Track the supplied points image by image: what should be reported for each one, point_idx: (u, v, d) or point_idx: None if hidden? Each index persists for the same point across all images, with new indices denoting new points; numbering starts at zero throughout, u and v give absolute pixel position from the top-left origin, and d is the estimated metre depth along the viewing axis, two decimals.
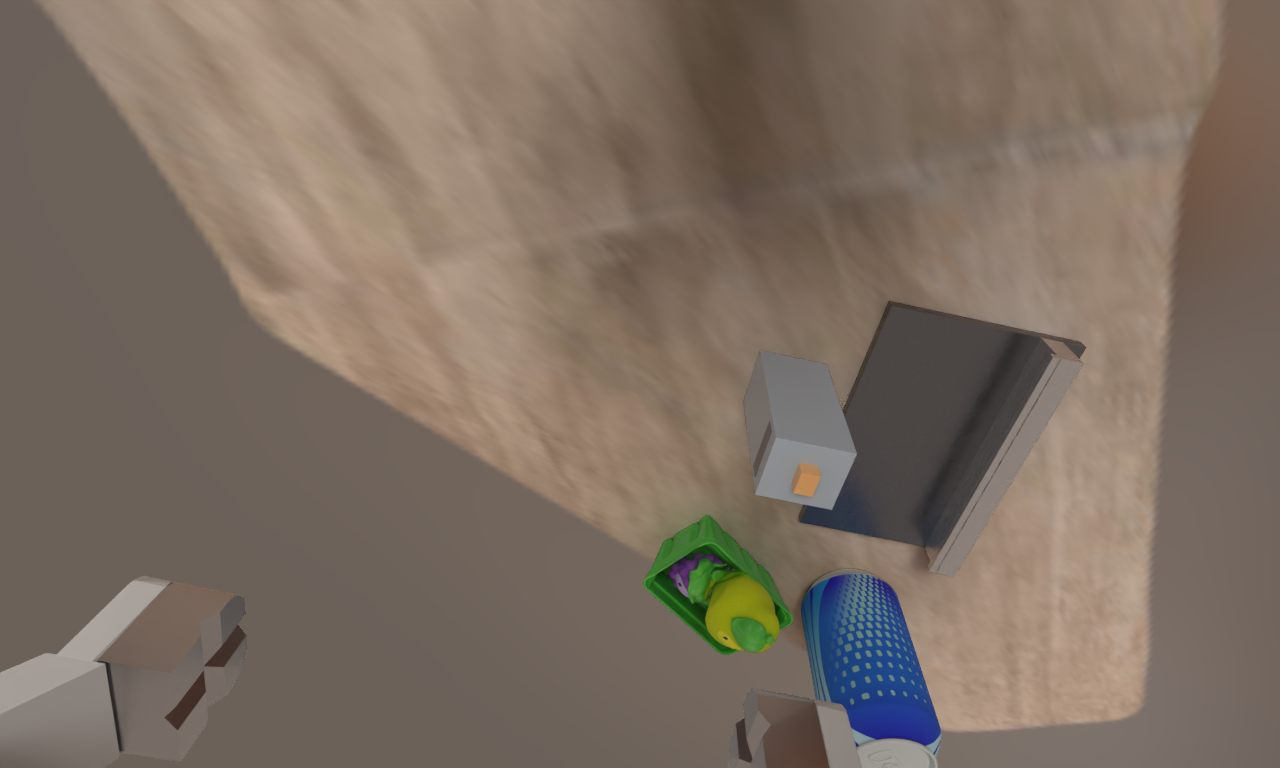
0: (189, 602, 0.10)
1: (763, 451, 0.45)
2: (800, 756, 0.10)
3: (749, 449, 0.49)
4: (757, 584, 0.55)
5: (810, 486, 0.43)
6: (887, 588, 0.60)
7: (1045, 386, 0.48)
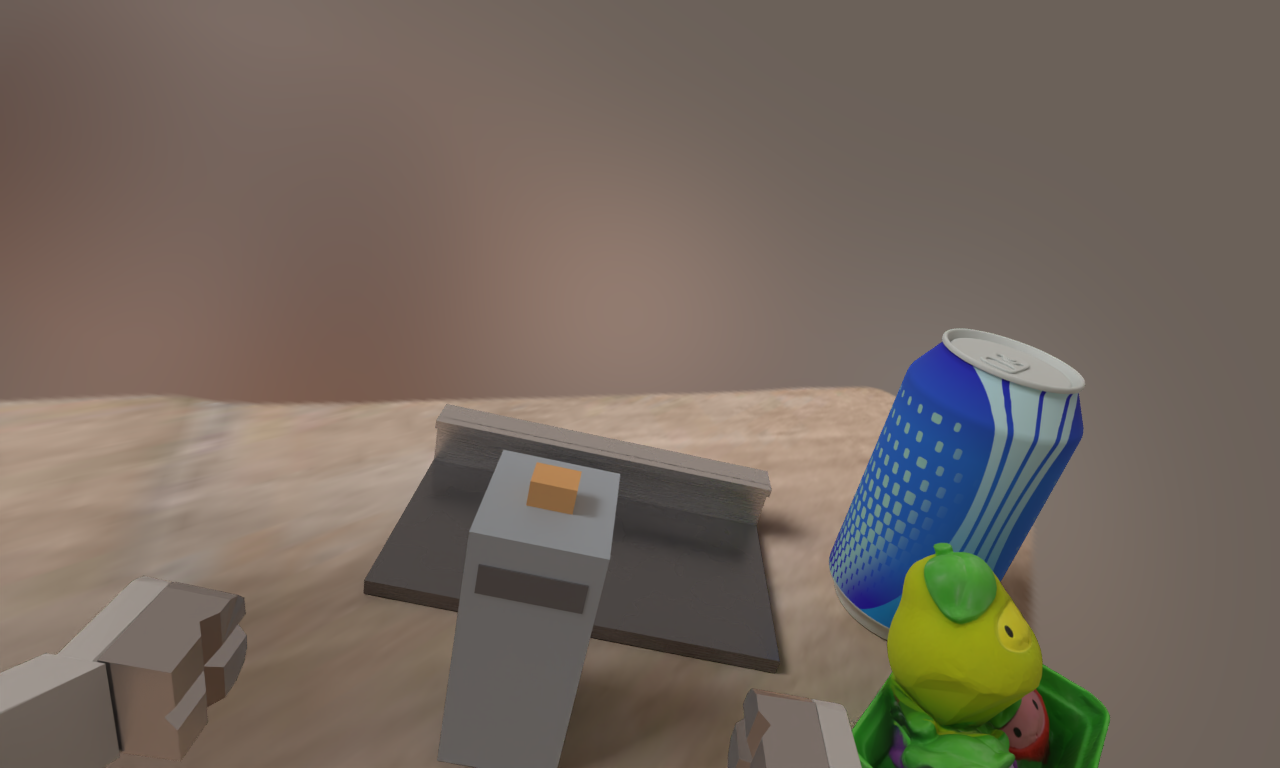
0: (189, 602, 0.10)
1: (528, 579, 0.23)
2: (800, 756, 0.10)
3: (581, 665, 0.25)
4: (887, 641, 0.29)
5: (559, 472, 0.24)
6: (835, 542, 0.42)
7: (475, 424, 0.42)
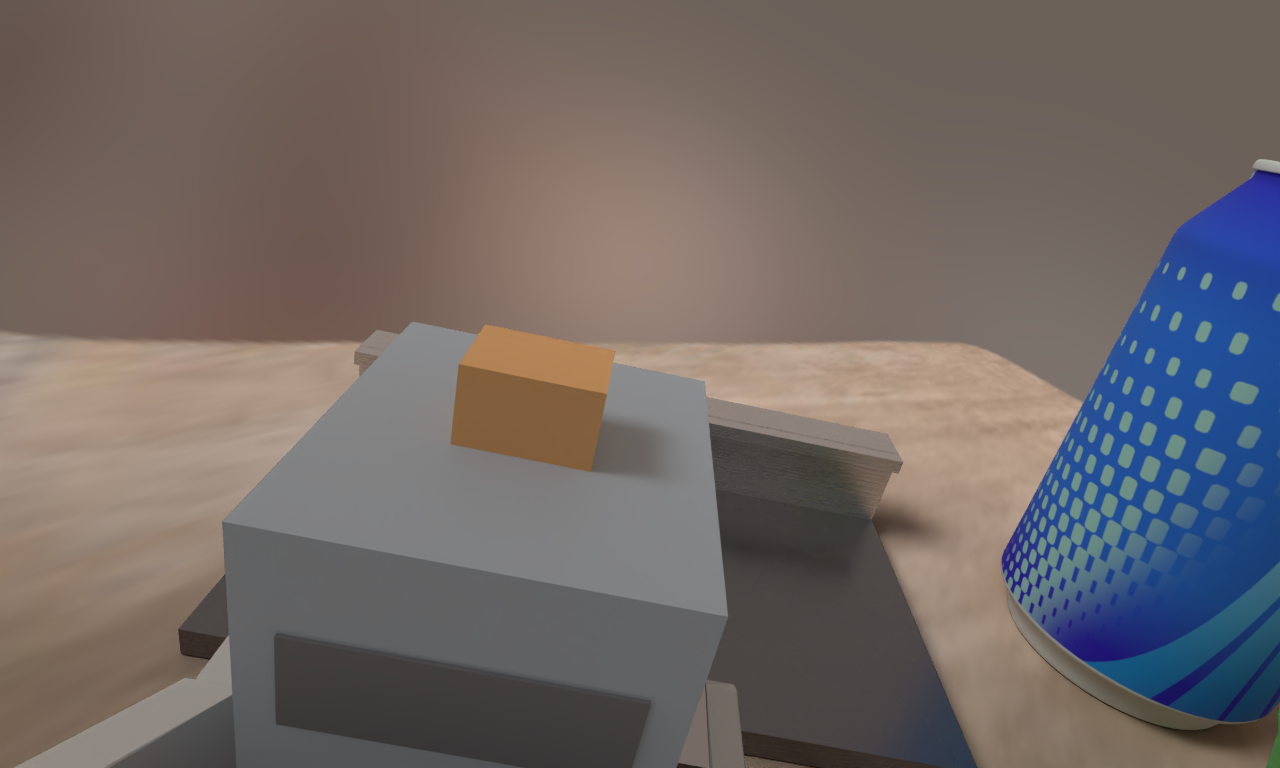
0: None
1: (449, 681, 0.07)
2: None
3: None
4: None
5: (549, 349, 0.08)
6: (1009, 545, 0.26)
7: None
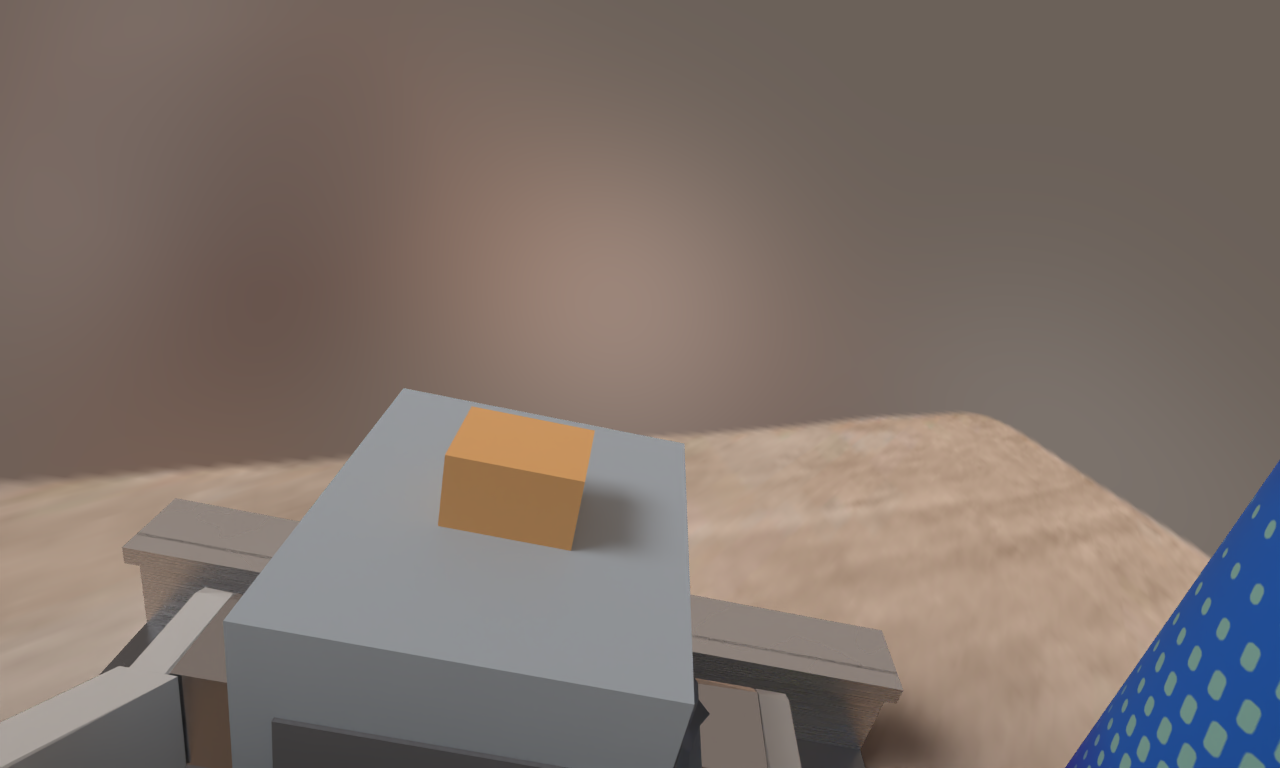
0: None
1: (436, 760, 0.07)
2: (737, 744, 0.10)
3: None
4: None
5: (532, 432, 0.09)
6: None
7: (225, 550, 0.18)
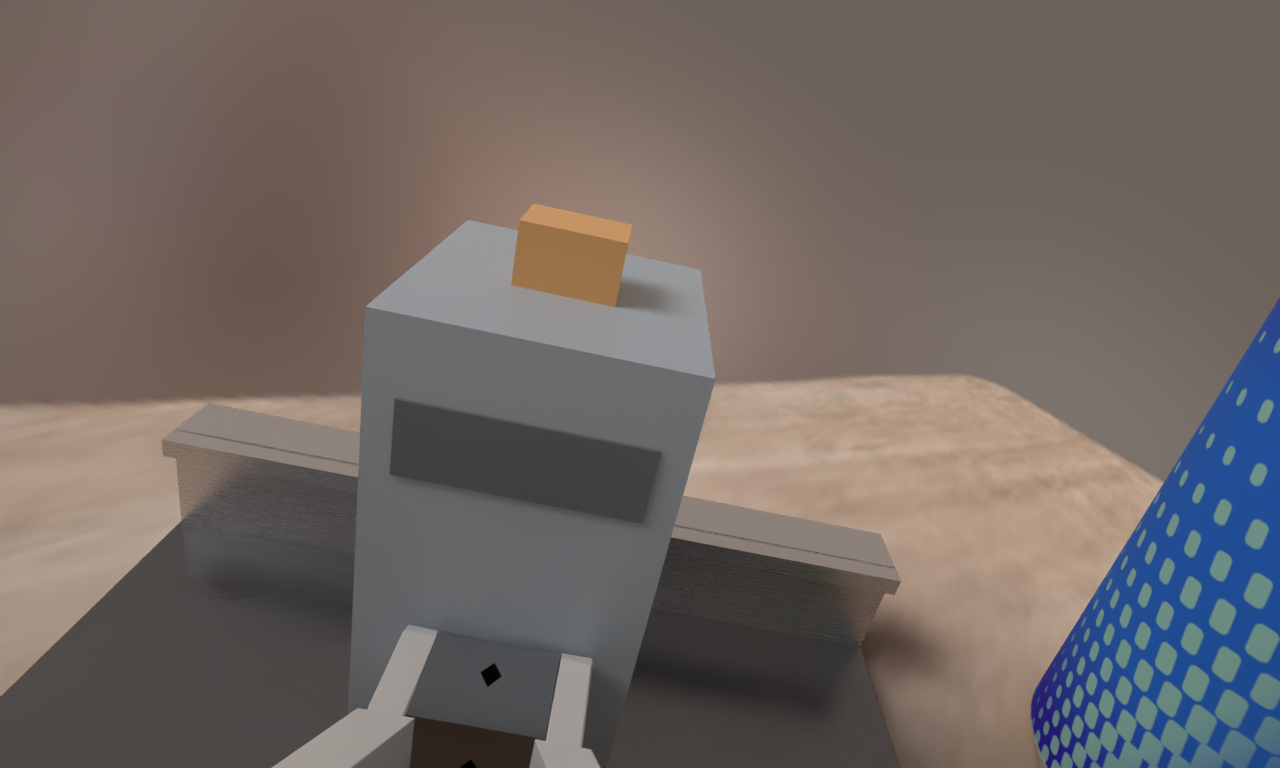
0: (464, 652, 0.10)
1: (517, 437, 0.10)
2: (521, 706, 0.10)
3: (636, 645, 0.11)
4: None
5: (583, 219, 0.11)
6: (1041, 693, 0.19)
7: (258, 446, 0.19)
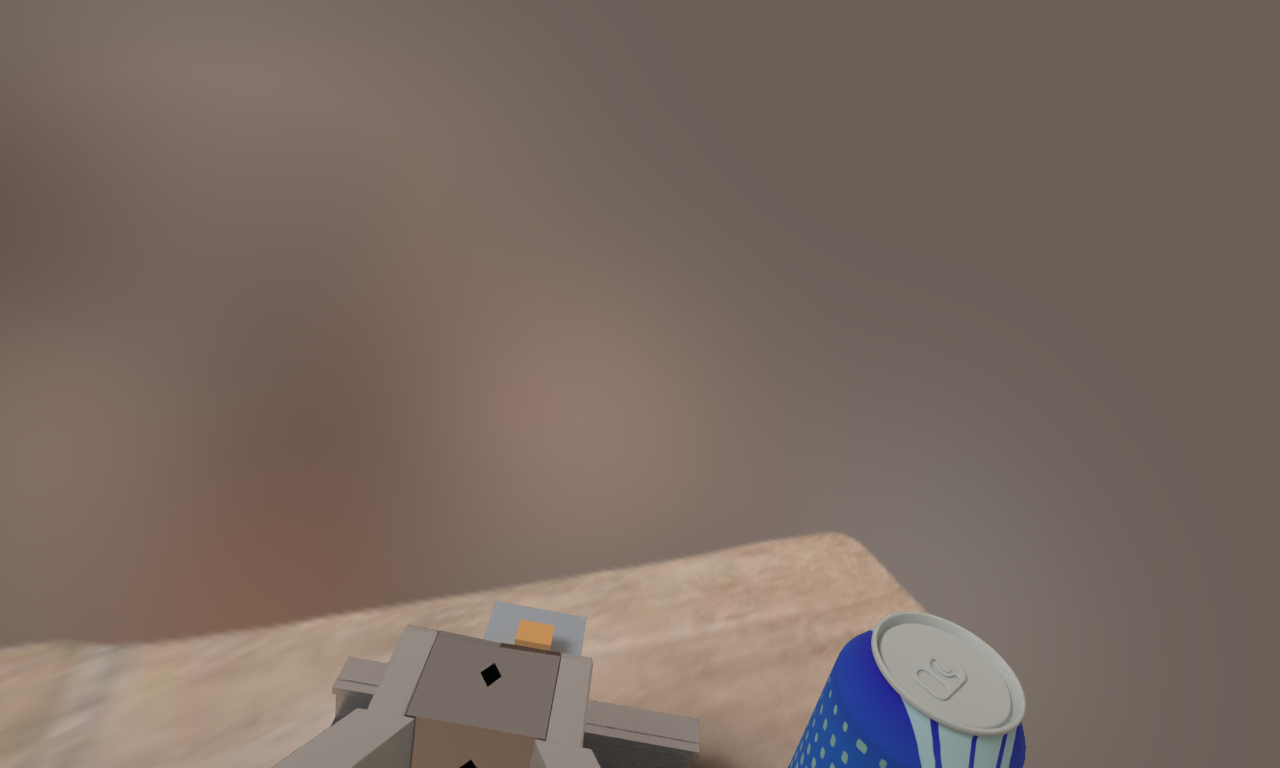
0: (464, 652, 0.10)
1: None
2: (521, 705, 0.10)
3: None
4: None
5: (537, 628, 0.32)
6: None
7: (377, 686, 0.38)
